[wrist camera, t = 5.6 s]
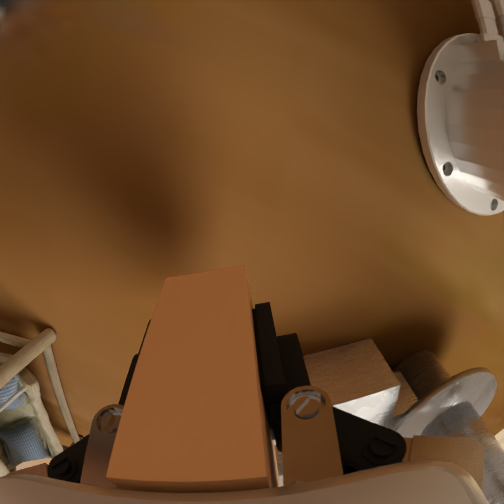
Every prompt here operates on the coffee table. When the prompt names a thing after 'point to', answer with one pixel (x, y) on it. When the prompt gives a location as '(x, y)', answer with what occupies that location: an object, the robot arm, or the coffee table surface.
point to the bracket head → (410, 399)
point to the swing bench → (28, 404)
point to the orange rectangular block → (197, 395)
